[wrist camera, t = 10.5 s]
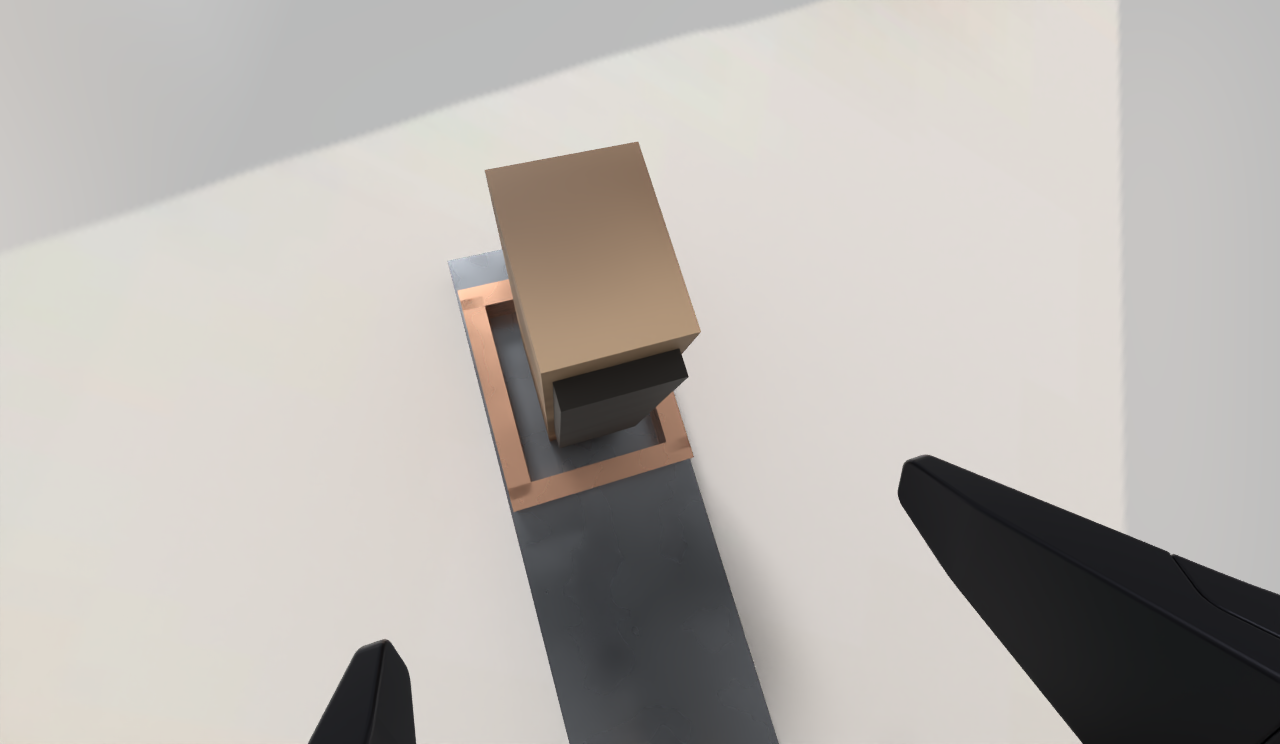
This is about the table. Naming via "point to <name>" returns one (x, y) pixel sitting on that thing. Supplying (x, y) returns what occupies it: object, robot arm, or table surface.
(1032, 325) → the table surface
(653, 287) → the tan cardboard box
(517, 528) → the rail
